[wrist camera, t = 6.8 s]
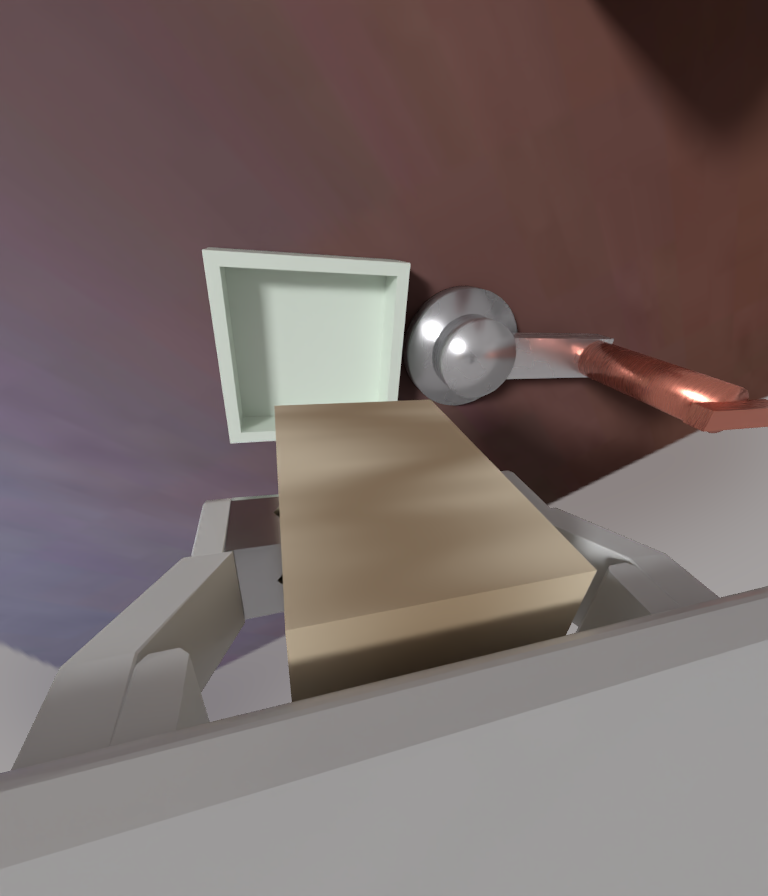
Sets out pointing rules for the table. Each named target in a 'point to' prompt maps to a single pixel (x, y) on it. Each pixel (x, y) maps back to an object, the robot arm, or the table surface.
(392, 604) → the block
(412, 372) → the crank plinth
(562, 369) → the crank
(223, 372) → the tray
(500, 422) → the table surface
